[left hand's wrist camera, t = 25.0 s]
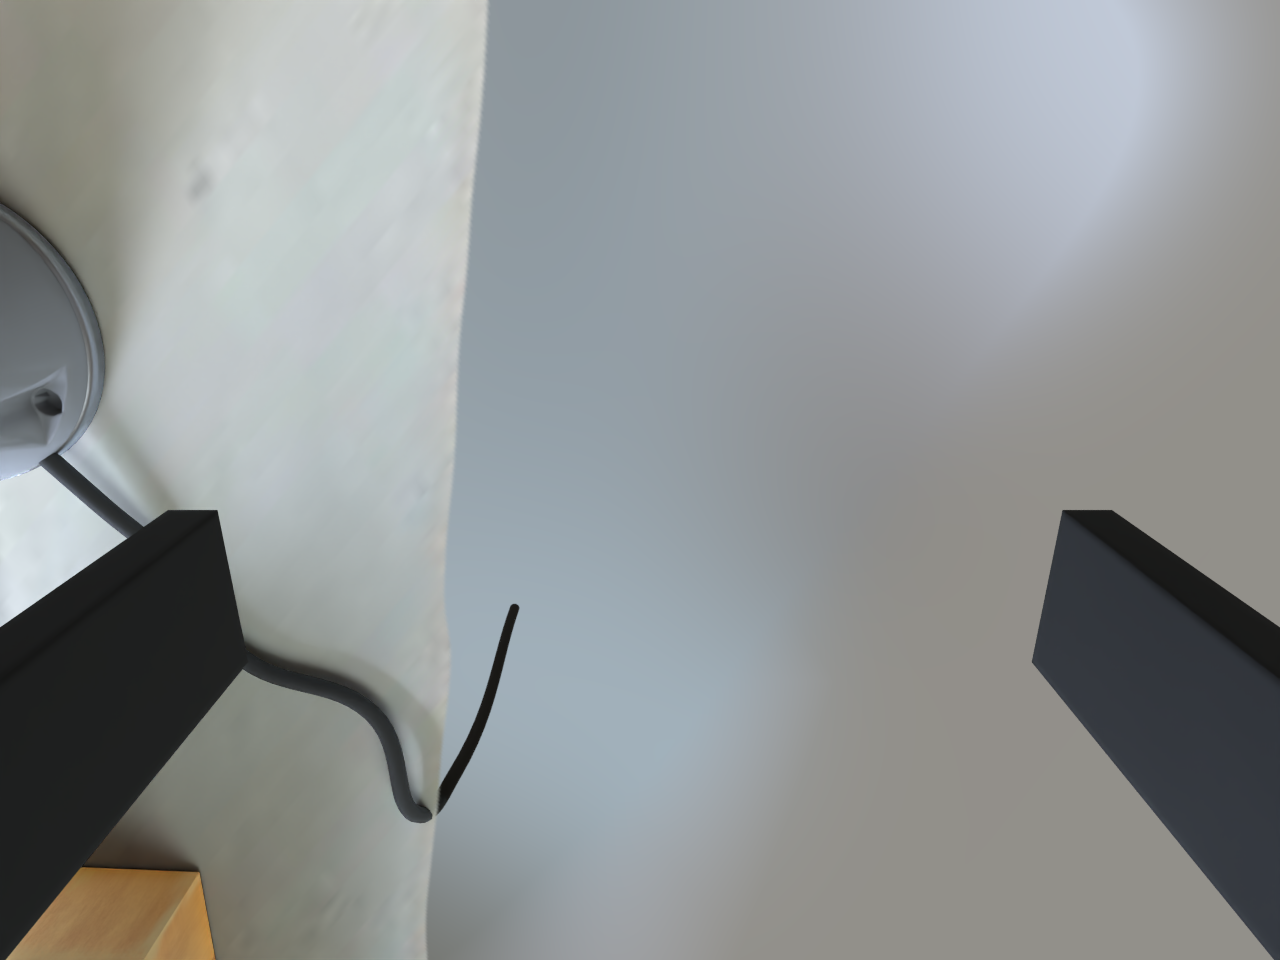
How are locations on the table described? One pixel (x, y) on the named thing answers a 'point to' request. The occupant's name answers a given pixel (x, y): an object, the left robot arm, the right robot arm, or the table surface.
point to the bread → (123, 918)
